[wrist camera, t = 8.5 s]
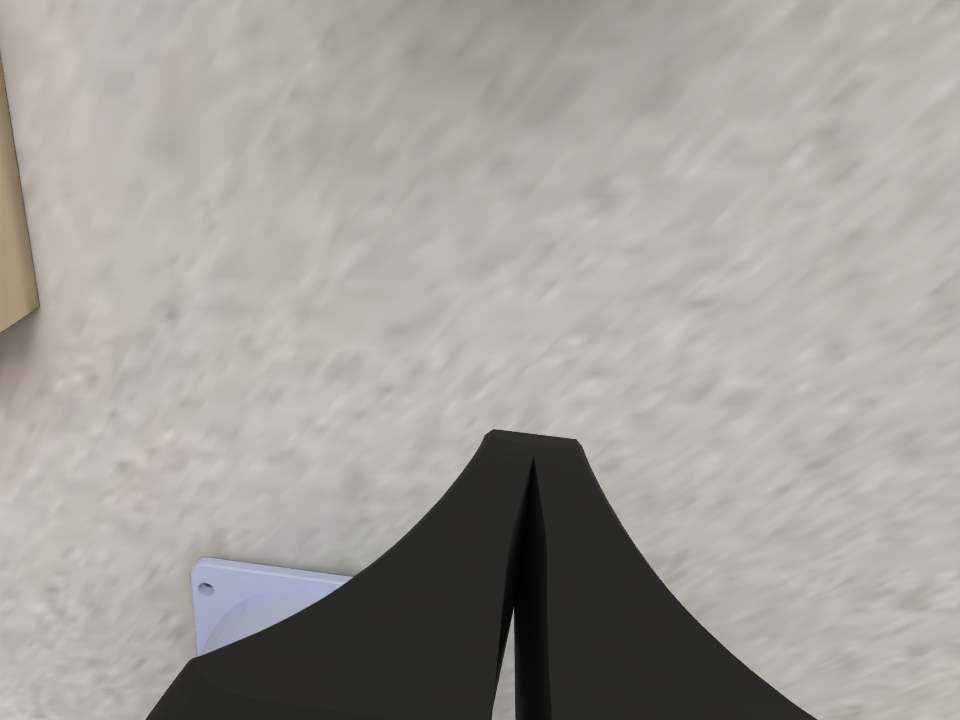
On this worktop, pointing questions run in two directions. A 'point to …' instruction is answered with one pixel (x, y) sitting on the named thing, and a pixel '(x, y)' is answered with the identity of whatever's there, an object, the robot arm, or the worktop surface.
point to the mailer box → (13, 231)
